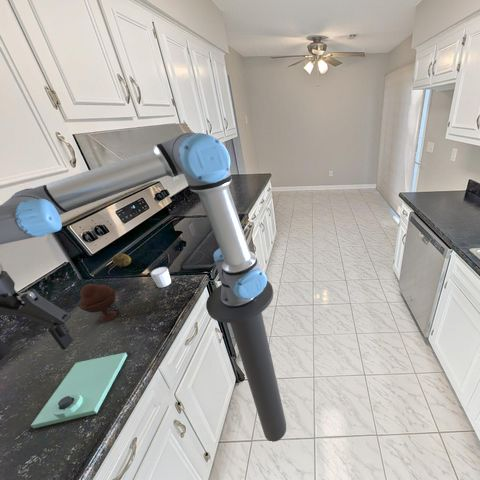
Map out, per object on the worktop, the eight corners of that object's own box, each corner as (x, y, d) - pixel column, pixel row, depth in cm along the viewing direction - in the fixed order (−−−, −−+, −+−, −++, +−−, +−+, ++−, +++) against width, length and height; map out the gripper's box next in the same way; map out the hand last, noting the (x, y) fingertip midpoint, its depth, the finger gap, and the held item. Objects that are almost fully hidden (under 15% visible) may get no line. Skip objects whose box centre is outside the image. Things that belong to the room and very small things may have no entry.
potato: (136, 257, 138) (130, 245, 134) (131, 269, 127) (125, 256, 124) (119, 261, 135) (112, 248, 132) (112, 274, 125) (104, 260, 121)
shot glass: (152, 287, 113) (146, 274, 110) (164, 278, 119) (159, 265, 115) (163, 289, 111) (158, 276, 108) (176, 280, 117) (171, 267, 113)
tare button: (75, 398, 66) (72, 394, 66) (69, 407, 64) (66, 404, 63) (65, 400, 66) (61, 397, 65) (58, 410, 64) (55, 406, 63)
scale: (127, 355, 81) (123, 348, 79) (96, 413, 65) (91, 406, 64) (78, 365, 78) (73, 359, 77) (33, 428, 63) (26, 422, 61)
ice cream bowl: (89, 332, 91) (67, 299, 84) (93, 314, 99) (73, 283, 92) (124, 319, 96) (106, 287, 89) (125, 303, 104) (109, 273, 97)
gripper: (-122, 300, 47) (-41, 375, 56) (33, 279, 50) (84, 352, 60) (-74, 277, 53) (-9, 347, 63) (60, 260, 57) (102, 329, 66)
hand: (36, 350), depth 61 cm, fingers open, 13 cm apart
